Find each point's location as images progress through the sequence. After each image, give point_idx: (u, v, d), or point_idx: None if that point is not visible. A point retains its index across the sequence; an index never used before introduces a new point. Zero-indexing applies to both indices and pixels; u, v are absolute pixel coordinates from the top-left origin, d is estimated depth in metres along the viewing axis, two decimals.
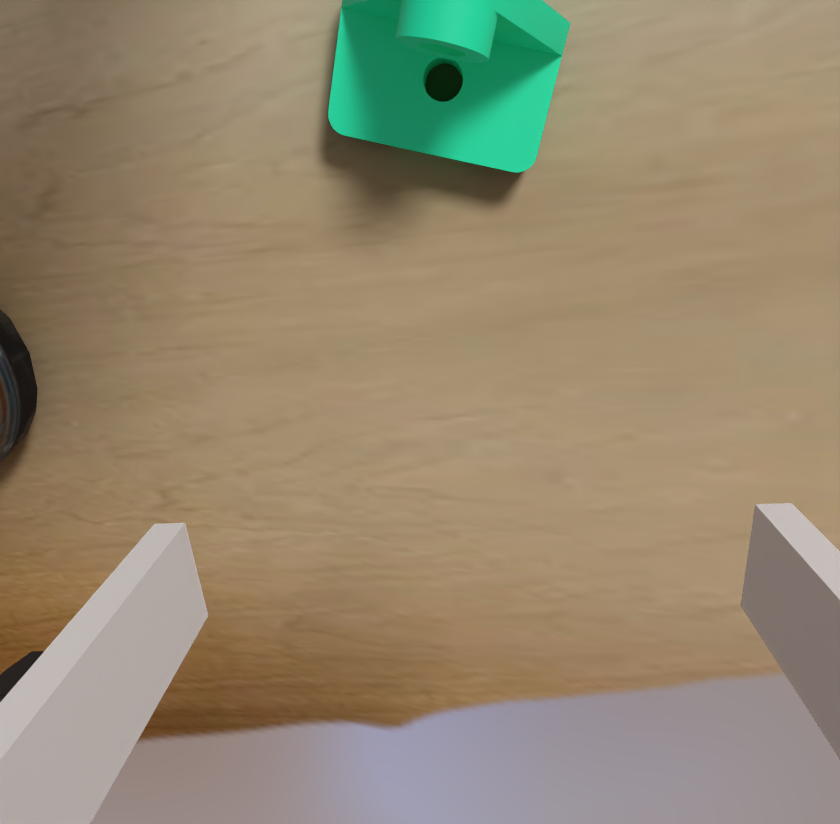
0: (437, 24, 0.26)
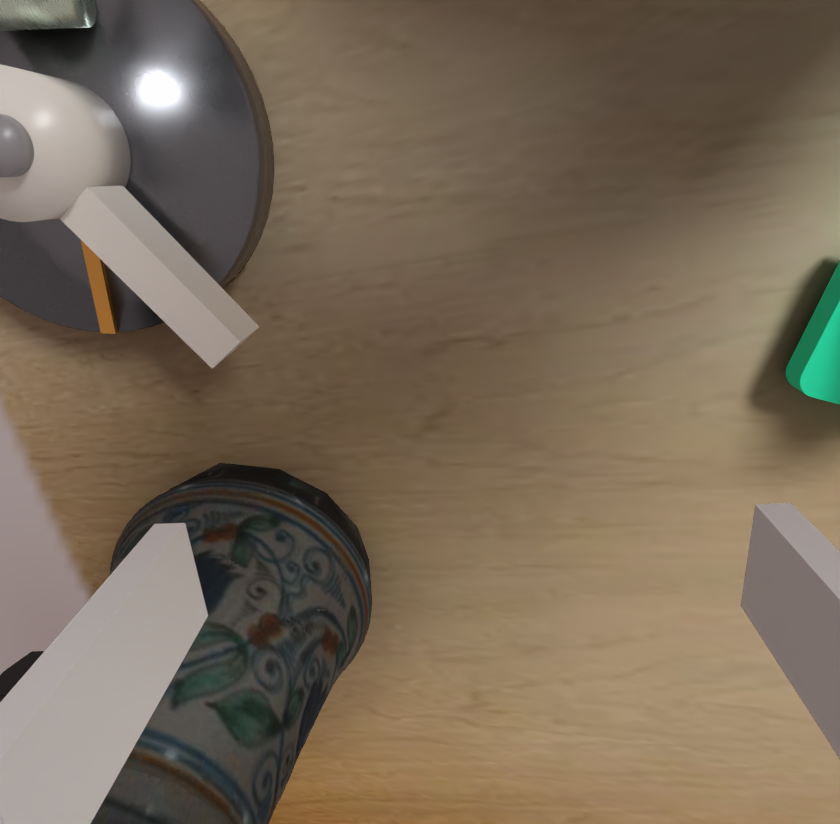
0: None
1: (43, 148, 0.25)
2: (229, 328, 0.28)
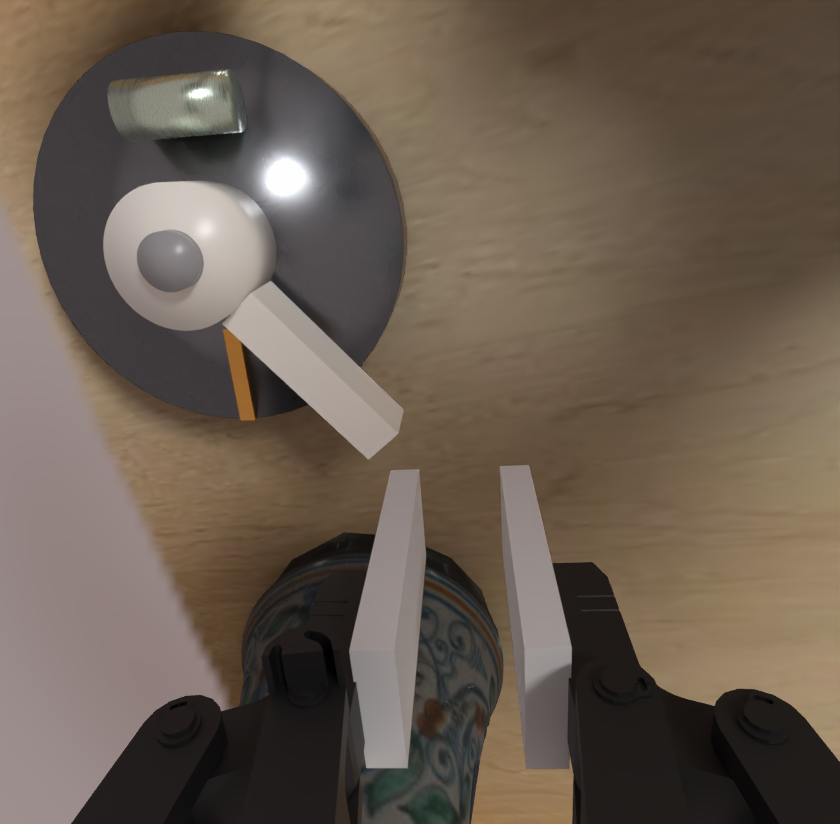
0: None
1: (213, 260, 0.25)
2: (386, 420, 0.28)
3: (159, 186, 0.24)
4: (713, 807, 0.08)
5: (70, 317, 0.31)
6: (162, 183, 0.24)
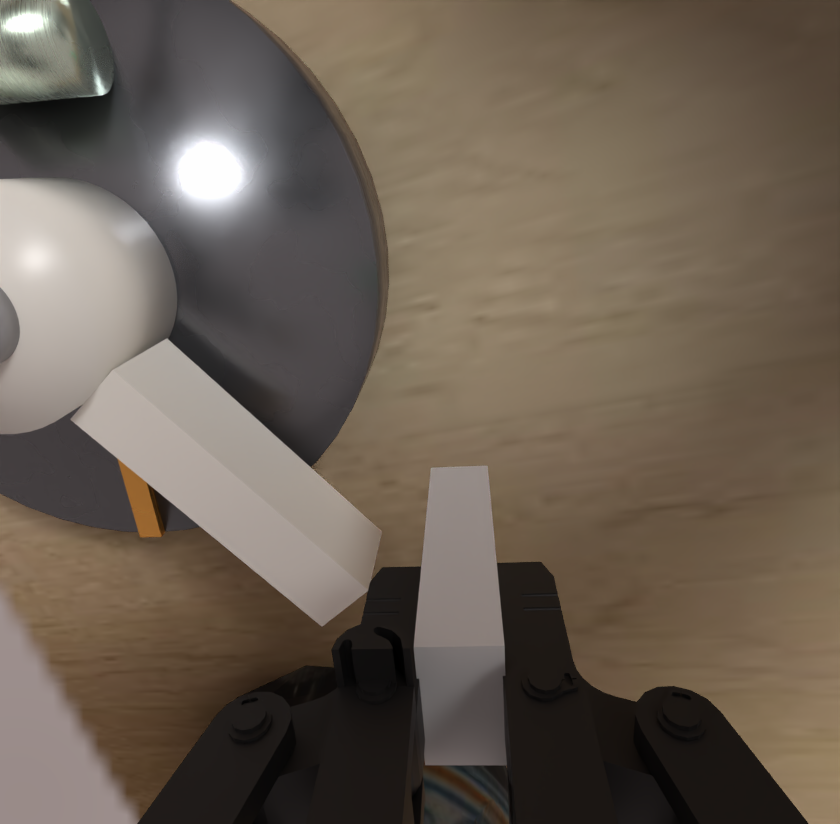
0: None
1: (35, 320, 0.14)
2: (350, 569, 0.17)
3: None
4: (633, 802, 0.09)
5: None
6: None
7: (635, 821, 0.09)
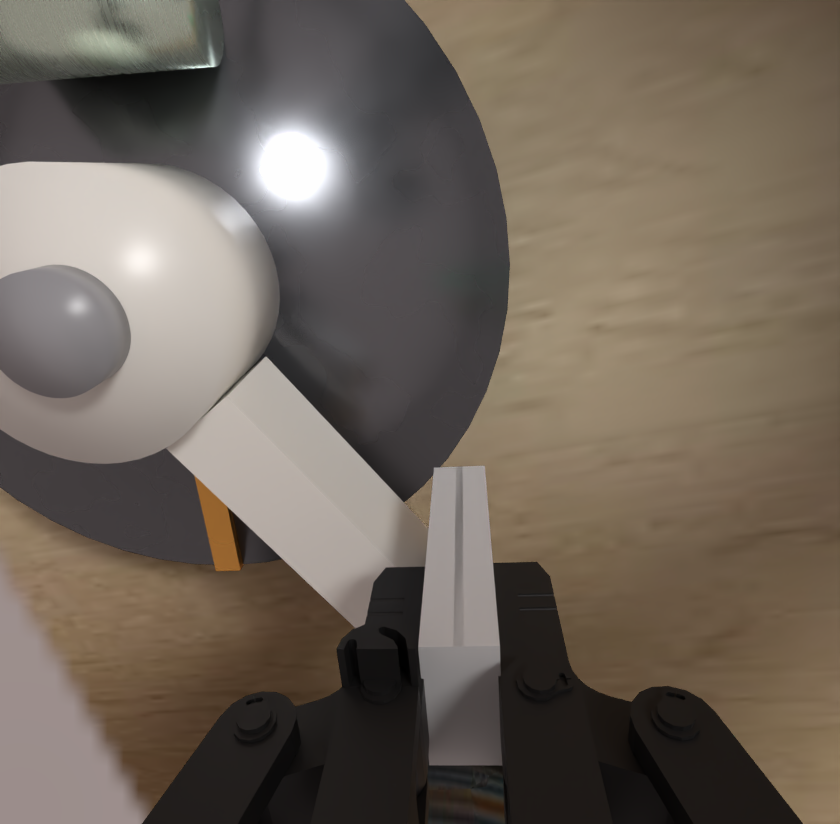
0: None
1: (151, 335, 0.12)
2: None
3: (37, 171, 0.11)
4: (628, 802, 0.09)
5: None
6: (44, 165, 0.11)
7: (630, 821, 0.09)
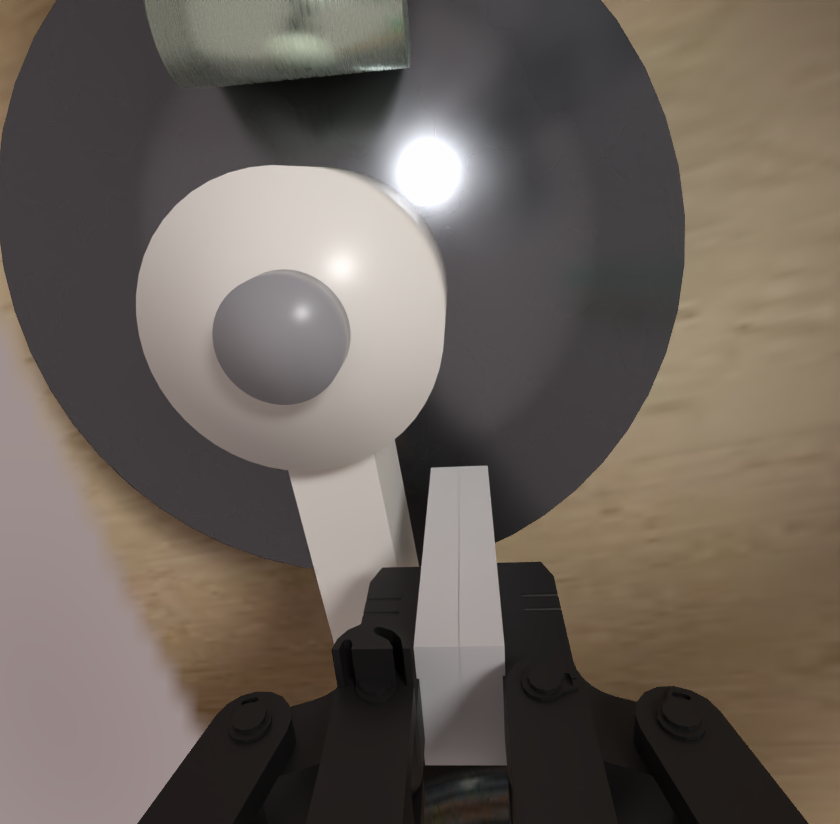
0: None
1: (357, 380, 0.12)
2: None
3: (360, 199, 0.11)
4: (633, 802, 0.09)
5: (67, 410, 0.18)
6: (369, 198, 0.11)
7: (635, 821, 0.09)
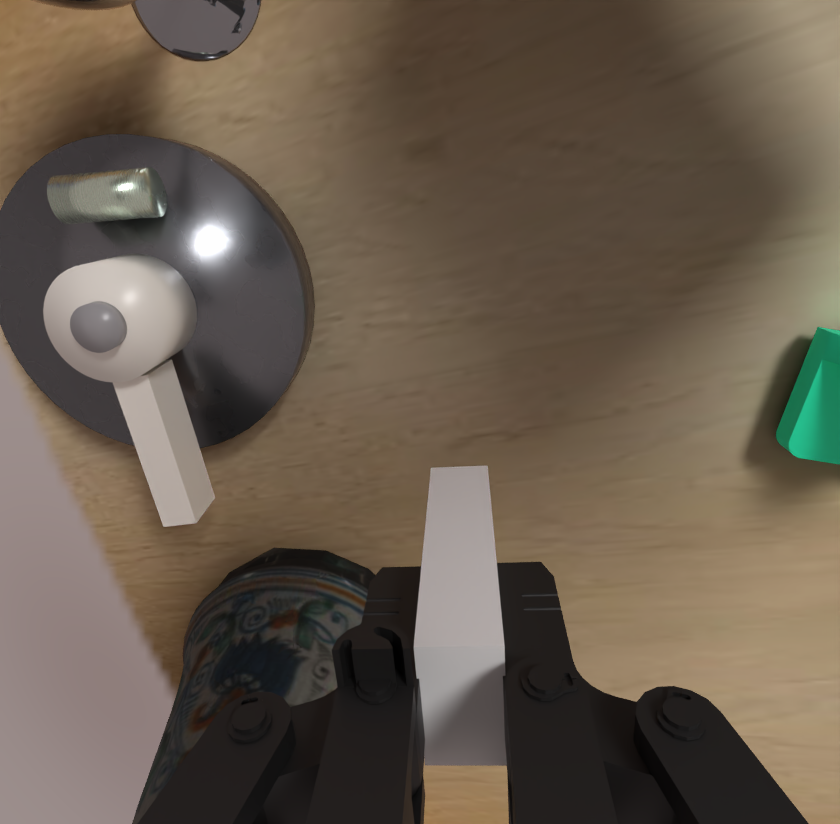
0: None
1: (131, 344, 0.31)
2: (193, 509, 0.35)
3: (123, 276, 0.29)
4: (633, 802, 0.09)
5: (23, 366, 0.36)
6: (127, 275, 0.29)
7: (635, 821, 0.09)
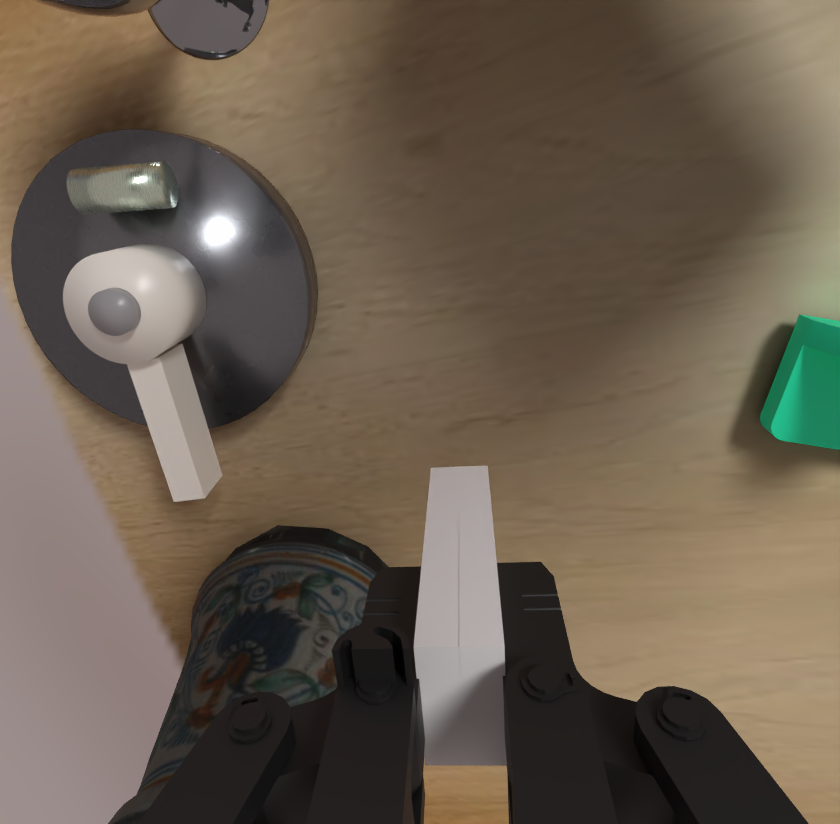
0: None
1: (145, 328, 0.33)
2: (202, 486, 0.37)
3: (138, 264, 0.31)
4: (633, 802, 0.09)
5: (42, 349, 0.39)
6: (141, 263, 0.31)
7: (635, 820, 0.09)
